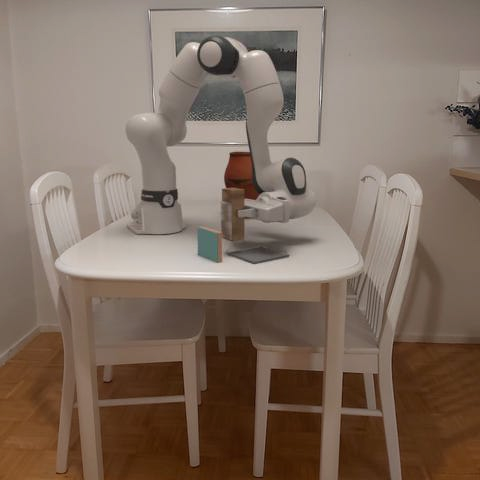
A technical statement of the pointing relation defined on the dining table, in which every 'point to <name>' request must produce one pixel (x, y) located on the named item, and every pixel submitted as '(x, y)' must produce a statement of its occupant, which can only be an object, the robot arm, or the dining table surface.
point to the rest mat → (258, 255)
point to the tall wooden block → (232, 214)
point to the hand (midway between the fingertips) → (230, 212)
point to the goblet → (240, 174)
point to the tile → (209, 243)
